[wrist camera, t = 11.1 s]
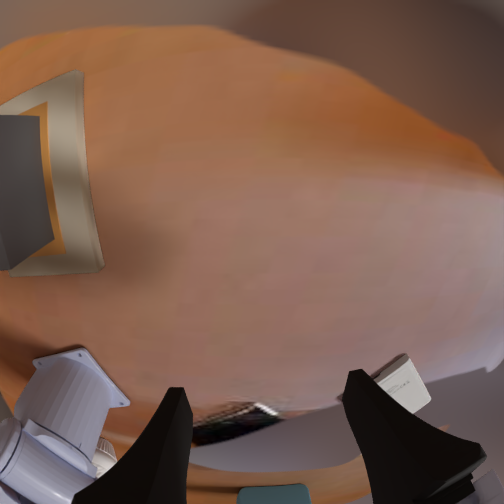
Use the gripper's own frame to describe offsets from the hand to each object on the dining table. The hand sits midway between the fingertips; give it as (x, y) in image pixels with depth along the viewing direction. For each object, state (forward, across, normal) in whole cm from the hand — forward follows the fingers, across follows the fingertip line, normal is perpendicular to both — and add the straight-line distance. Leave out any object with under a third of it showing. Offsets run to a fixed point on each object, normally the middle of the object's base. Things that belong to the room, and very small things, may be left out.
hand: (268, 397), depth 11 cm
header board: (+9, +16, -10) cm, 21 cm away
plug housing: (+8, +16, -10) cm, 20 cm away
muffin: (+10, +22, +24) cm, 34 cm away
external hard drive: (+10, -16, +16) cm, 25 cm away
